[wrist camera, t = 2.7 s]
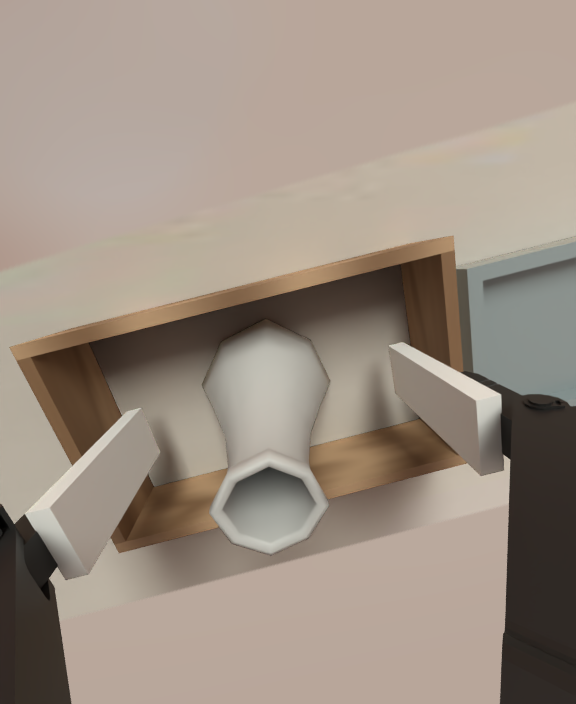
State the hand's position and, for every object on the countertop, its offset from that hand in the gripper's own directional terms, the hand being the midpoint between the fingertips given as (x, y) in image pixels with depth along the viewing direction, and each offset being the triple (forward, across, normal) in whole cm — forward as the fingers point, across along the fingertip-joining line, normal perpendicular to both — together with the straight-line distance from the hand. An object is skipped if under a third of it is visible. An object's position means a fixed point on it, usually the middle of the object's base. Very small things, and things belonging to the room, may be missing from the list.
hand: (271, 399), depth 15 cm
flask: (+3, 0, 0) cm, 3 cm away
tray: (+3, +17, -1) cm, 18 cm away
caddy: (+3, 0, 0) cm, 3 cm away
